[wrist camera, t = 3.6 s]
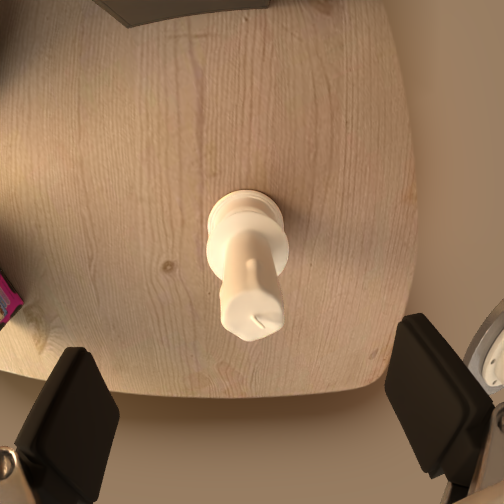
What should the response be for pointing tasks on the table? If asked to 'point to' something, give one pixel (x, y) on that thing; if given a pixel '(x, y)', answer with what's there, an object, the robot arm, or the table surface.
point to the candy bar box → (8, 301)
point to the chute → (170, 9)
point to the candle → (248, 262)
